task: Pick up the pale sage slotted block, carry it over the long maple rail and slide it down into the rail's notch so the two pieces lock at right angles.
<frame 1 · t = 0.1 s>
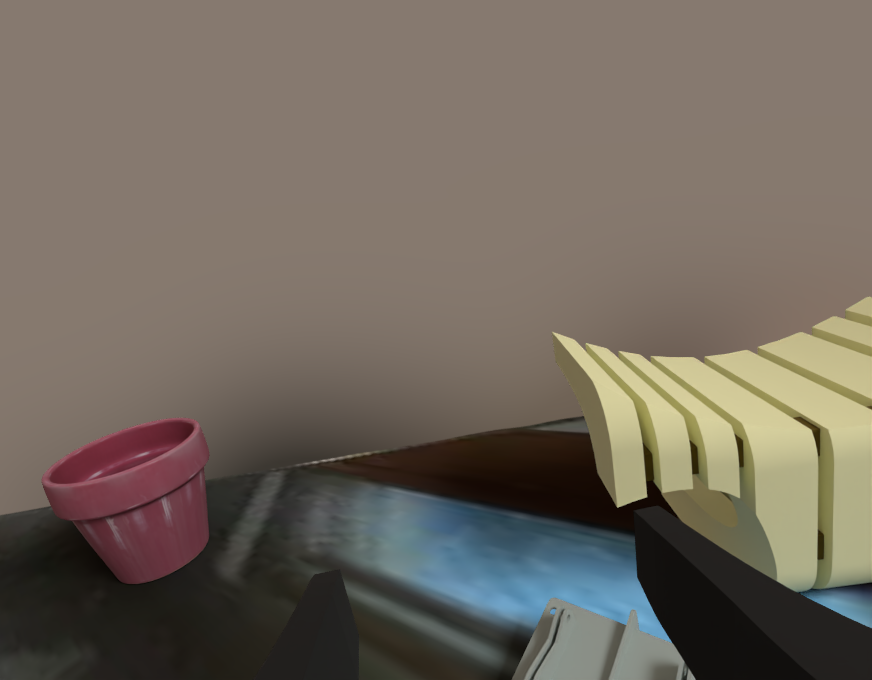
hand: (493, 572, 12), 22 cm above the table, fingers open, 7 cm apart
plant pot: (164, 556, 55), on the table
slatted curved stool: (783, 537, 41), on the table
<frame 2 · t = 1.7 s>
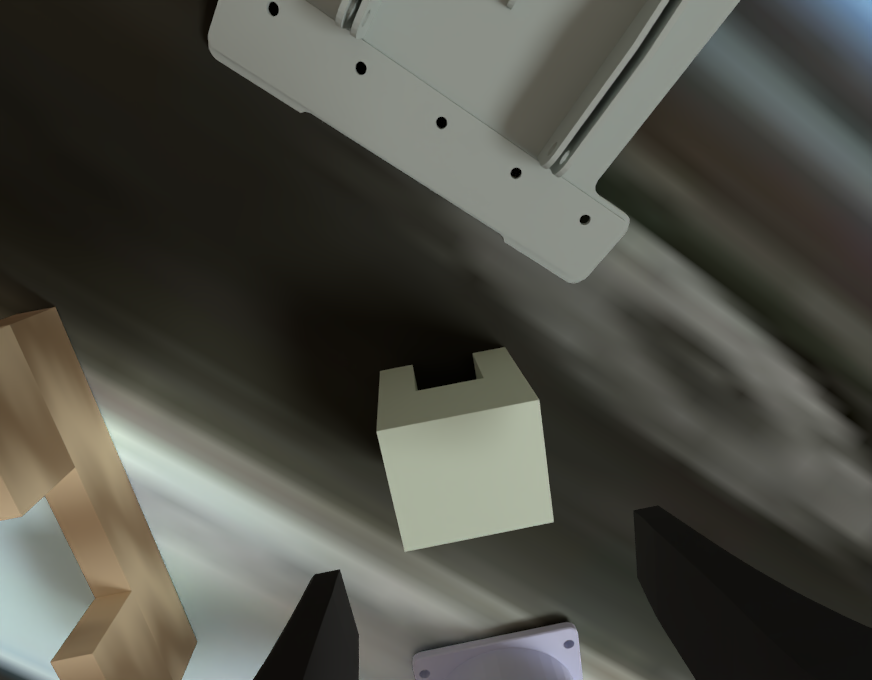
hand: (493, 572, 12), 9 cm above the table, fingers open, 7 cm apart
notched rail: (117, 497, 21), on the table
slotted block: (451, 409, 21), on the table
metal bracket: (503, 11, 17), on the table
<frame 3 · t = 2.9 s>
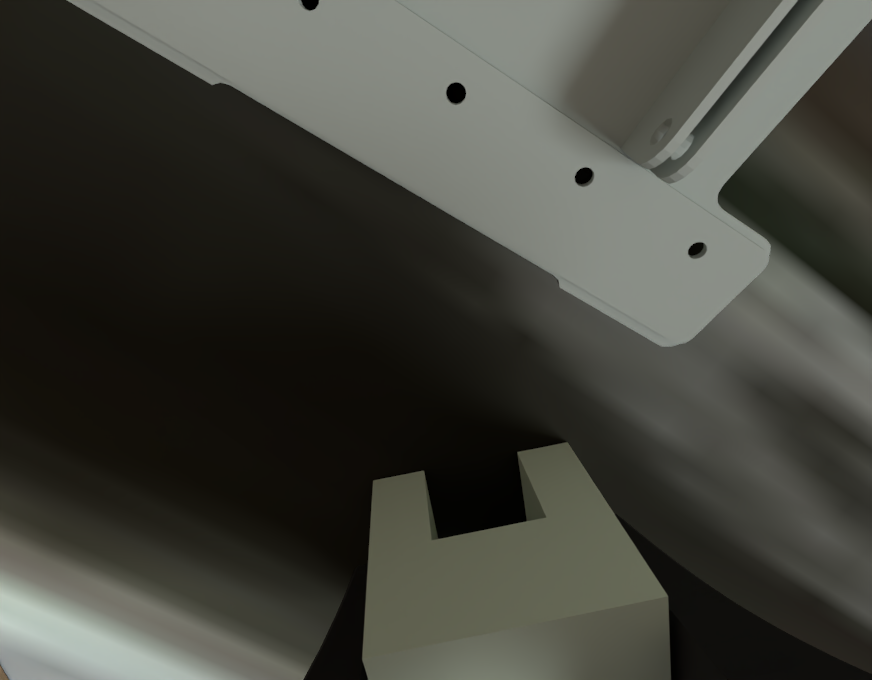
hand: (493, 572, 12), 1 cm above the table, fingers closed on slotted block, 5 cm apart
slotted block: (483, 533, 14), on the table, touching gripper
when the fingers open (2 cm above the table, at t = 6.3 s): slotted block stays where it is, on the table.
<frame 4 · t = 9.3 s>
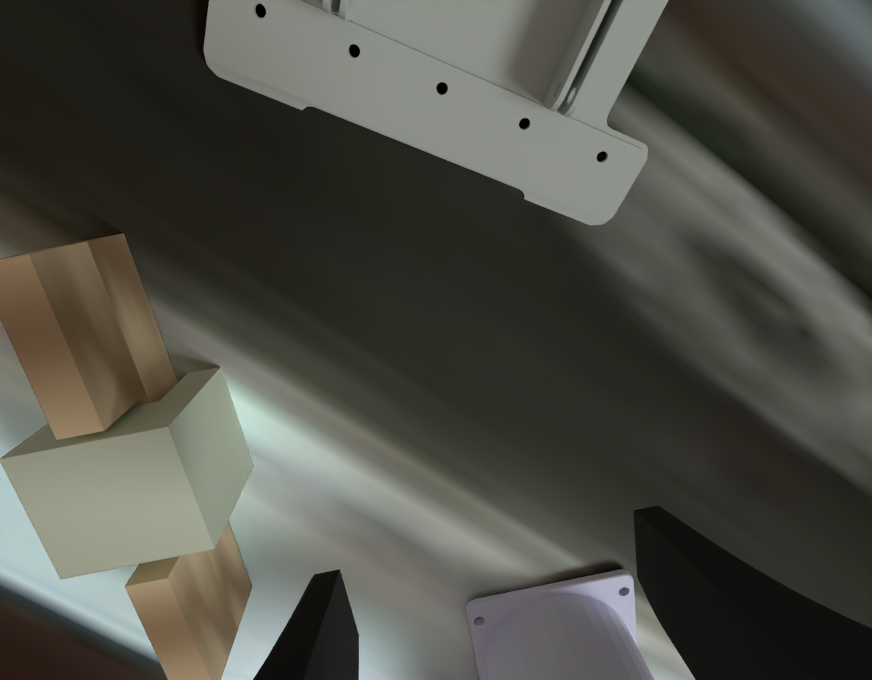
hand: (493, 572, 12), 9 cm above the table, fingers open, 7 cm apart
notched rail: (178, 435, 21), on the table
slotted block: (176, 429, 21), on the table
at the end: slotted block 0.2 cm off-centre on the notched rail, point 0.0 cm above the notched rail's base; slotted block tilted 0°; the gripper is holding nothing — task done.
